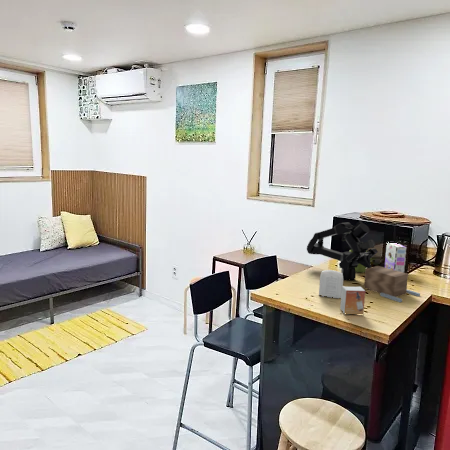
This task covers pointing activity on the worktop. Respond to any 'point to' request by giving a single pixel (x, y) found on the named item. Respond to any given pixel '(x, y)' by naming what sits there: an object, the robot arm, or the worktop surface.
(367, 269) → the walnut box
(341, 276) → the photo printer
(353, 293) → the small box
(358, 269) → the plant pot
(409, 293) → the bay rails
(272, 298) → the worktop surface
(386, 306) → the worktop surface
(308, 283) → the worktop surface
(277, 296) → the worktop surface
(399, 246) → the candy box
